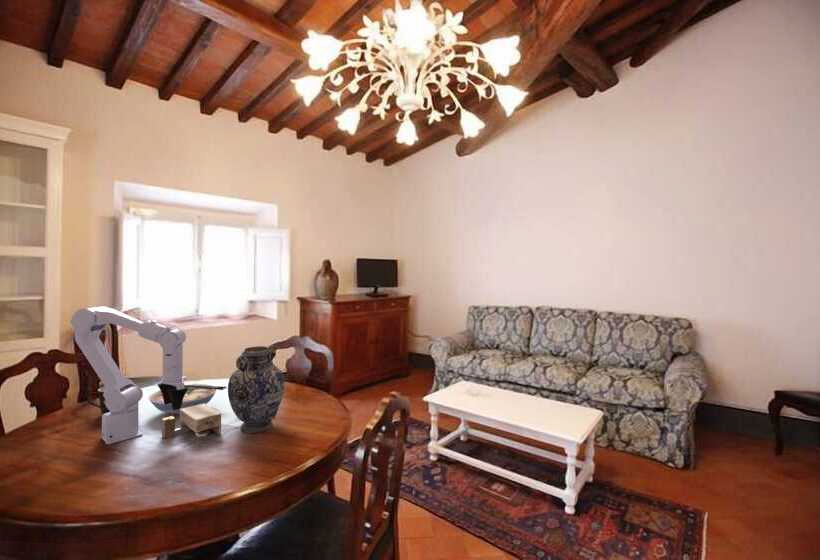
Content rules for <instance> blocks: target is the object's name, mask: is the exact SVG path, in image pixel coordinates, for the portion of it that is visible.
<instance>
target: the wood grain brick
mask: <svg viewBox="0 0 820 560" xmlns="http://www.w3.org/2000/svg"><path fill="white" fill-rule="evenodd" d="M191 431H193V430H192V429H190V428H189V427H188V426H185V427H182V428H180V427H179V428H176V418H175V417H174V416H173V415H171V416H167V417H162V418H161V437H162V438H163V439H164V440H167V439H170V438H173V437H176V436H177V435H181V434H184V433H187V432H191Z"/></svg>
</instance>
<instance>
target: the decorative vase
mask: <svg viewBox="0 0 820 560" xmlns="http://www.w3.org/2000/svg"><path fill="white" fill-rule="evenodd" d="M276 354H277V349H276V347H275V345H274V344H269V345H268V346H262V345H261V346H260V345H259V346H250V347H246V348H244V351H242V352H241V355H240V356H238V357H237V358H236V362H235V366H236V368H237V369H236V370H235V371H233V372H232V374H231V375H230V377H229V380H228V383H227V396H228V401H229V404H230V408H231V409H232V412H233V414H234V415H235V416H236V417H237V419H238V420H240V421H241V422H243V423H242V424H241V425H240V428H239V429H240V431H241V432H243V433H248V434H254V433H255V434H256V433H261V432H265V431H268V430H269V429H270V428H272V426H273V421H272V420H275V419H276V416H277V413H278V411H279V408H280V406H281V403H282V400H283V397H284V392H285V377H284V374H283V372H282V371H281V369H280V368H278V367H277V366H276V365H275V364H274V362H273V359H275V357H276Z"/></svg>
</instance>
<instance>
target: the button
mask: <svg viewBox="0 0 820 560" xmlns="http://www.w3.org/2000/svg"><path fill="white" fill-rule="evenodd" d="M209 433H210V430H209V429H205V430H202V431H198V432H194V434H195V437H196V438H205V437H206V436H209Z"/></svg>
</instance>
